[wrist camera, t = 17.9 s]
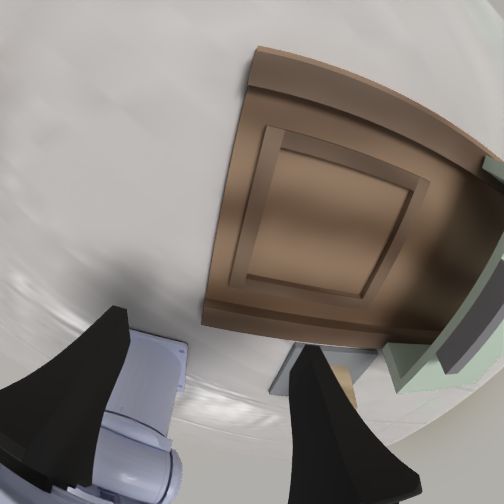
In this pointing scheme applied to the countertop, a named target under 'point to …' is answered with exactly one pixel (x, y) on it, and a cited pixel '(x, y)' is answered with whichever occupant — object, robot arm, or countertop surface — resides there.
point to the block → (345, 382)
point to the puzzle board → (347, 212)
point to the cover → (458, 333)
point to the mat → (335, 356)
